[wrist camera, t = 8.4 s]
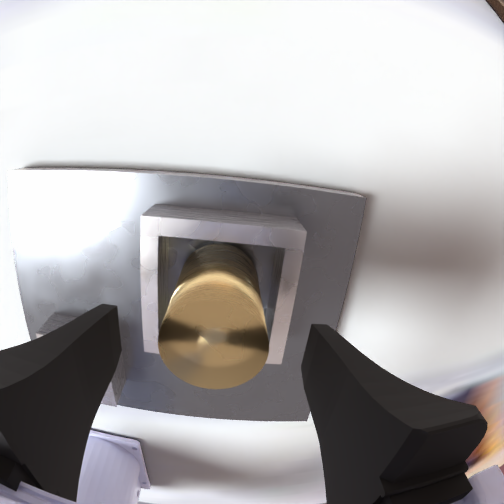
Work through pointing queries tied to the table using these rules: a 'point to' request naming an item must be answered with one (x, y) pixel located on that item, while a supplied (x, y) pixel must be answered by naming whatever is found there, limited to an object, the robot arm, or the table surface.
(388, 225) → the table surface
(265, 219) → the socket plate
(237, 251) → the pipe stub
